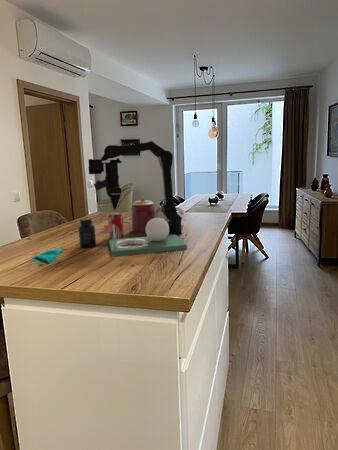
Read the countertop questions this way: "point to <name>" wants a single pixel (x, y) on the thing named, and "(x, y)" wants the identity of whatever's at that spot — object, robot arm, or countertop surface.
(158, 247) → the putting deck
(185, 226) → the countertop surface
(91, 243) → the supplement bottle
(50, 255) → the cloth
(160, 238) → the ball
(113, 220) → the soda can
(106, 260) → the countertop surface
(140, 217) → the canister
